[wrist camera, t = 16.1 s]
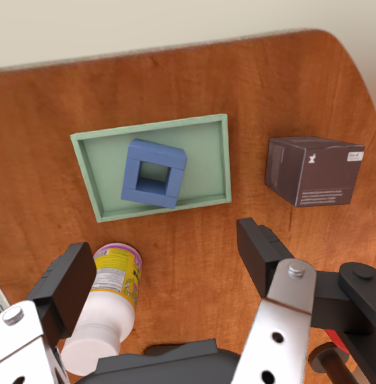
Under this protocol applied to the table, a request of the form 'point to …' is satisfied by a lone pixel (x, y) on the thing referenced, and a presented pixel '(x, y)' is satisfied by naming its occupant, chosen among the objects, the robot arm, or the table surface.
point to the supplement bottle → (105, 309)
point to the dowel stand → (332, 363)
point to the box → (313, 170)
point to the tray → (162, 134)
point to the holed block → (149, 188)
